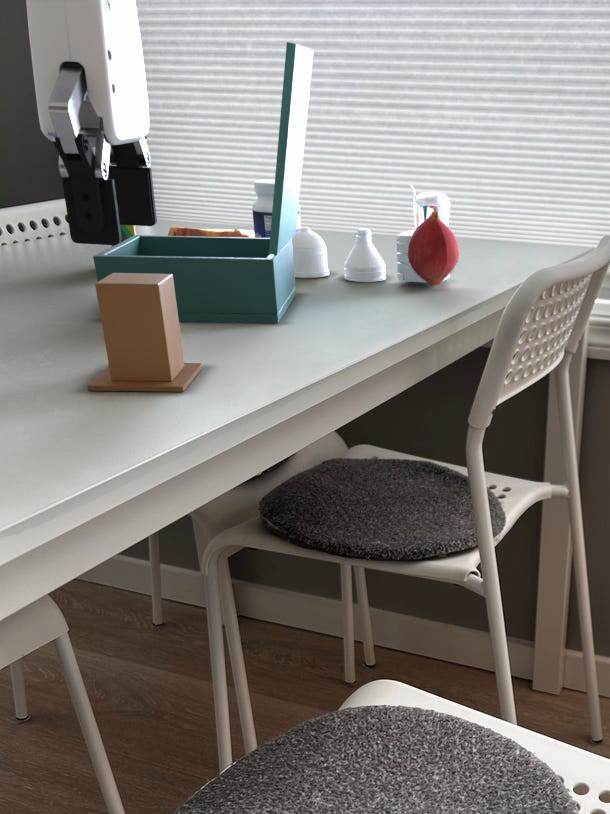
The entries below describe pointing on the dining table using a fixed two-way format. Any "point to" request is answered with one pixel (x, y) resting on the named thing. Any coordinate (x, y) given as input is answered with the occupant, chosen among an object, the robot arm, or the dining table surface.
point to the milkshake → (430, 206)
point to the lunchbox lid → (290, 145)
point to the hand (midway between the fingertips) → (117, 233)
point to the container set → (350, 258)
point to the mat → (146, 382)
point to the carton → (140, 326)
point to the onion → (433, 250)
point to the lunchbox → (211, 274)
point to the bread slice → (210, 232)
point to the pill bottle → (266, 208)
